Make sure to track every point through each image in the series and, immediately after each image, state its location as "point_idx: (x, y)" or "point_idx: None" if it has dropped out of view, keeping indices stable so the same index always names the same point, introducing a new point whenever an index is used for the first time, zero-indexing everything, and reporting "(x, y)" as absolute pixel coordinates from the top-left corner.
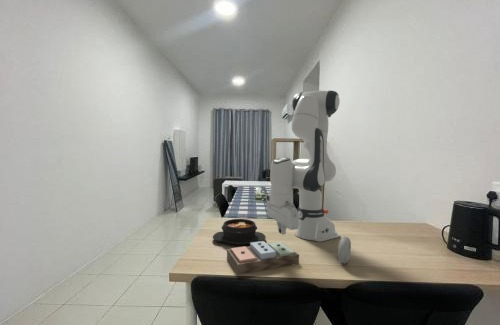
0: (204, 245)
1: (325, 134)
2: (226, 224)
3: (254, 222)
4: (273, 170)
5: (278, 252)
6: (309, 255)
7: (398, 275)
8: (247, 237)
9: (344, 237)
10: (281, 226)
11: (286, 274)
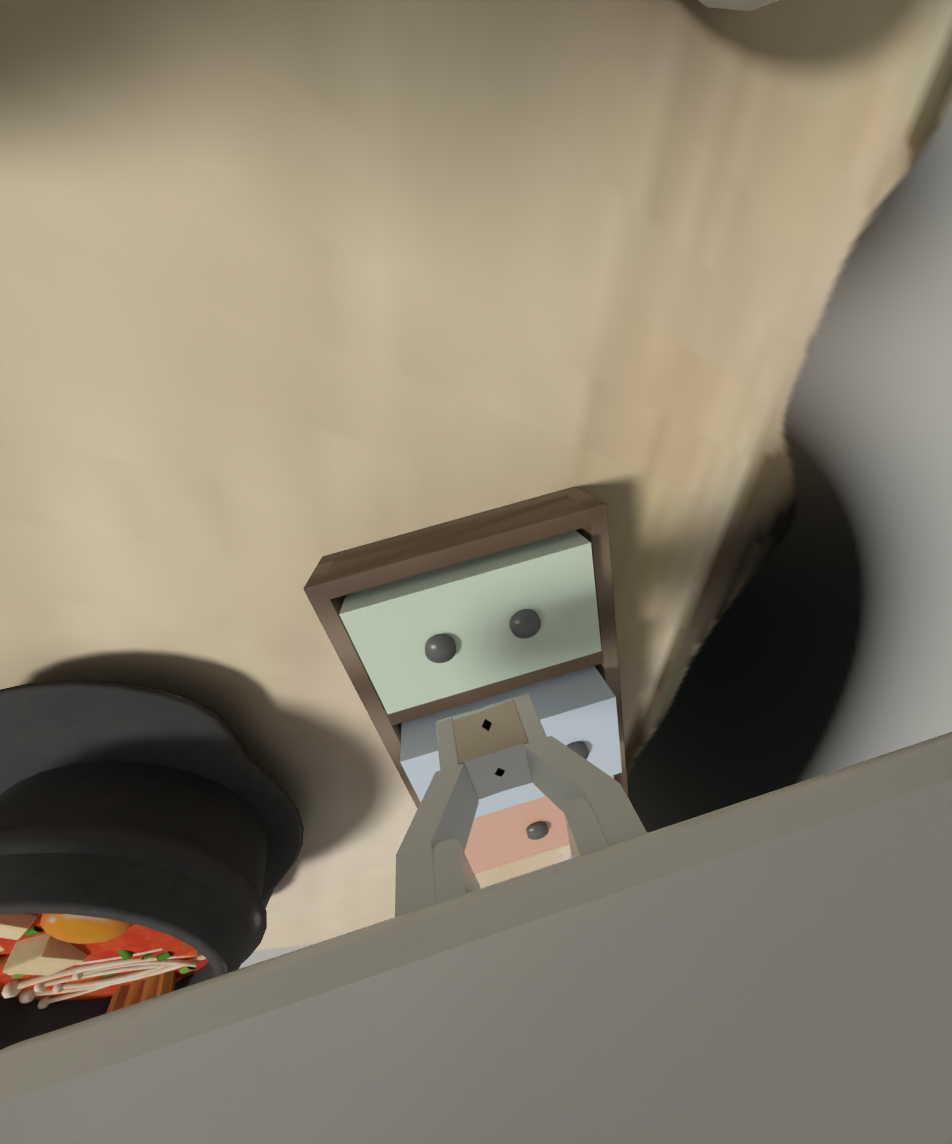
0: (292, 918)
1: None
2: (65, 1014)
3: None
4: None
5: (568, 659)
6: (436, 324)
7: None
8: (235, 824)
9: None
10: (461, 799)
11: (670, 593)
